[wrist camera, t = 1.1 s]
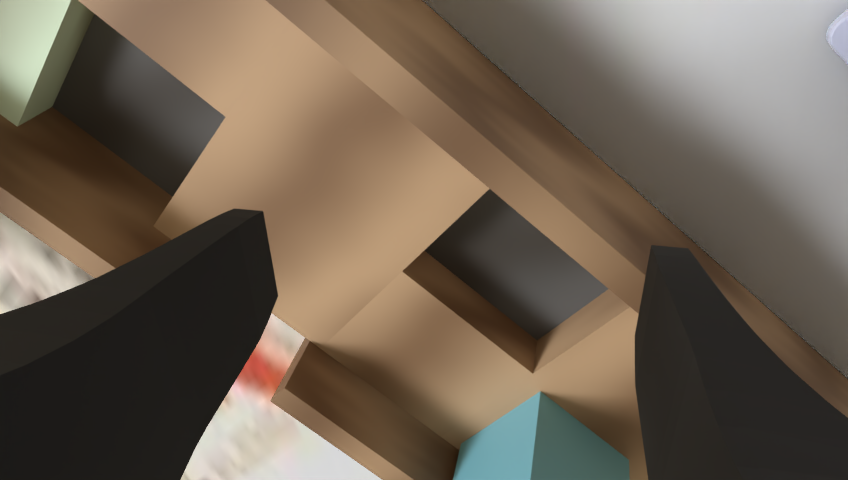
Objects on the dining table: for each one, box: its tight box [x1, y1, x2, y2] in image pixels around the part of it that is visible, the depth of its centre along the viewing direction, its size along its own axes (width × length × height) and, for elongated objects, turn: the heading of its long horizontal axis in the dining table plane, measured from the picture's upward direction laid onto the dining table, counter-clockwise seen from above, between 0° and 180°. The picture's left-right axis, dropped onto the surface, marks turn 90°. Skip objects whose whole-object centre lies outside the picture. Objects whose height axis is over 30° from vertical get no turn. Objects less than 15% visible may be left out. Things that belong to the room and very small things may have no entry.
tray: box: [0, 0, 848, 480], centre depth 22 cm, size 33×13×4 cm, turn 51°
